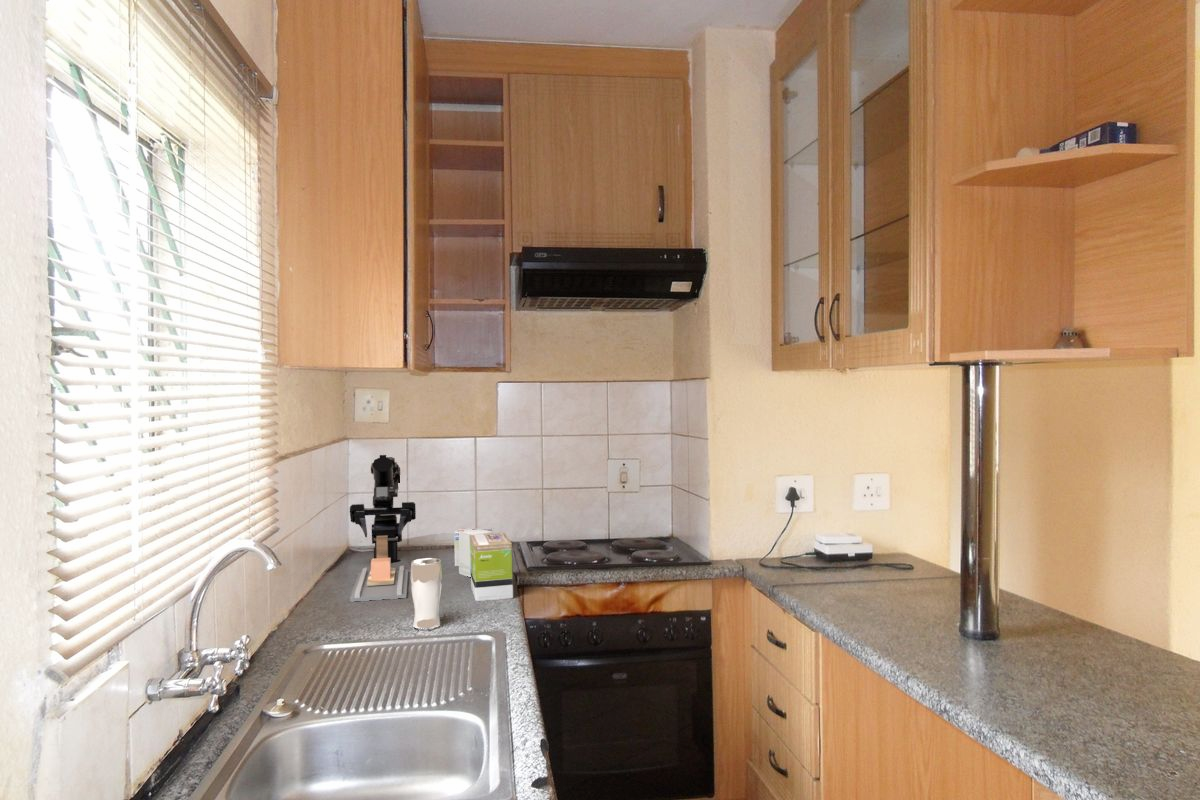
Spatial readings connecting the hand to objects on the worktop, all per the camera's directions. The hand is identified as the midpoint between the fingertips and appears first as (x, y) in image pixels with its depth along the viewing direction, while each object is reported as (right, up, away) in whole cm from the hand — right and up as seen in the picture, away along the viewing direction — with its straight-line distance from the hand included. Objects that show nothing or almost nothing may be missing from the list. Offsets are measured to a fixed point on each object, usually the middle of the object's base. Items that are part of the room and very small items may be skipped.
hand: (382, 535), depth 226 cm
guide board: (+3, -12, -11) cm, 17 cm away
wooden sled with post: (+2, -11, -7) cm, 13 cm away
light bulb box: (+24, -12, +15) cm, 31 cm away
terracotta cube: (+3, -10, -11) cm, 15 cm away
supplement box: (+27, -12, +2) cm, 29 cm away
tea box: (+34, -12, -20) cm, 41 cm away
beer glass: (+24, -12, -49) cm, 56 cm away
